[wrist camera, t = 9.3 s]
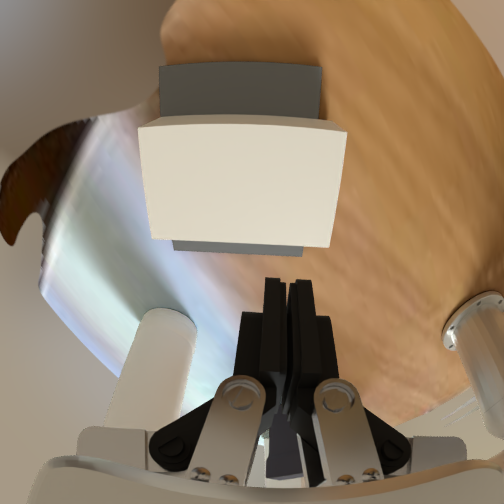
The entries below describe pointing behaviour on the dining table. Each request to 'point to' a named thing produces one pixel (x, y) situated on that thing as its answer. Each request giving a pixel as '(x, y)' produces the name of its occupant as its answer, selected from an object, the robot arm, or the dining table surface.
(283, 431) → the dark grey box
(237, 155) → the flip block
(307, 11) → the dining table surface
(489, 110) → the dining table surface
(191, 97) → the mat
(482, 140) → the dining table surface
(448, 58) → the dining table surface
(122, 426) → the bottle
